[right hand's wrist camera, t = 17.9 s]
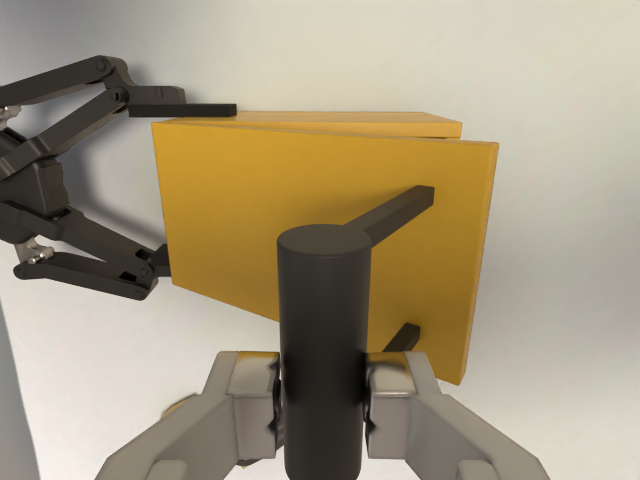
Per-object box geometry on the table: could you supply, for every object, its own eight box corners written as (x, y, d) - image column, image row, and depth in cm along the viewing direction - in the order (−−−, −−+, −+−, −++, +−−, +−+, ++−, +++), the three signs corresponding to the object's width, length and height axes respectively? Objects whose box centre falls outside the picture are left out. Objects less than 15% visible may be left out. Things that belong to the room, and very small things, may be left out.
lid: (499, 142, 15) (399, 198, 7) (465, 373, 18) (372, 576, 10) (165, 121, 23) (-36, 136, 16) (185, 278, 27) (26, 351, 19)
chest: (423, 111, 33) (462, 122, 23) (413, 227, 37) (444, 282, 26) (214, 111, 34) (162, 121, 24) (223, 225, 37) (181, 277, 27)
